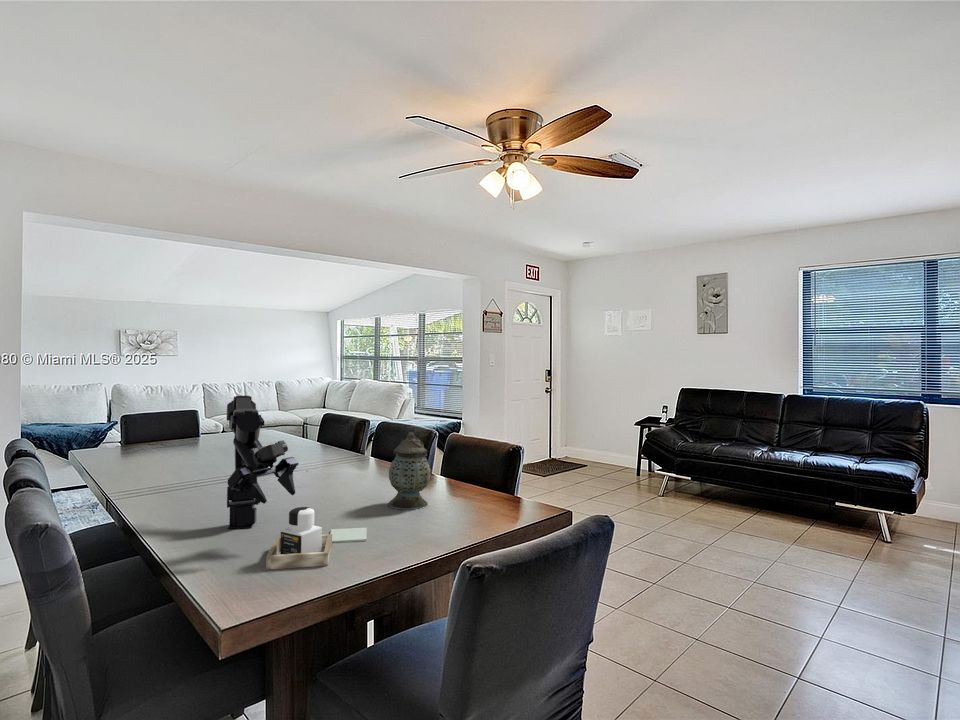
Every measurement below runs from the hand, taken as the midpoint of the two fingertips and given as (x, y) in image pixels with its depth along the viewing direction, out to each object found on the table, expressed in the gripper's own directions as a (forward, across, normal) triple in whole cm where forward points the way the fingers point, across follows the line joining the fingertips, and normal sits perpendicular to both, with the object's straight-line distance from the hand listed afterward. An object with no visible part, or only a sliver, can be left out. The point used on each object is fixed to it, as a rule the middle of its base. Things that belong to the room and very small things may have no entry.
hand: (280, 498), depth 137 cm
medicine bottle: (+15, 0, +4) cm, 16 cm away
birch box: (+15, 0, +4) cm, 16 cm away
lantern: (+12, +52, +7) cm, 54 cm away
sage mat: (+15, +18, +4) cm, 23 cm away
